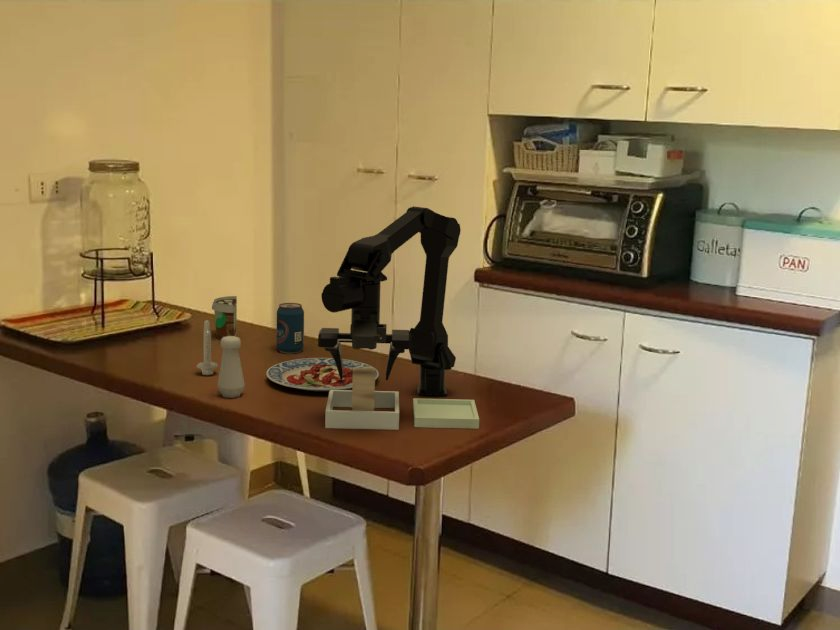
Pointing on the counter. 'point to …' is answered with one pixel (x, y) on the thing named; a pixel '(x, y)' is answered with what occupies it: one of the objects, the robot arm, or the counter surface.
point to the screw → (207, 352)
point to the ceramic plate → (315, 374)
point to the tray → (445, 413)
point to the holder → (362, 417)
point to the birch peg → (363, 389)
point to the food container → (225, 316)
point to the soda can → (290, 328)
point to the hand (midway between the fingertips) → (364, 379)
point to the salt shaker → (230, 368)
